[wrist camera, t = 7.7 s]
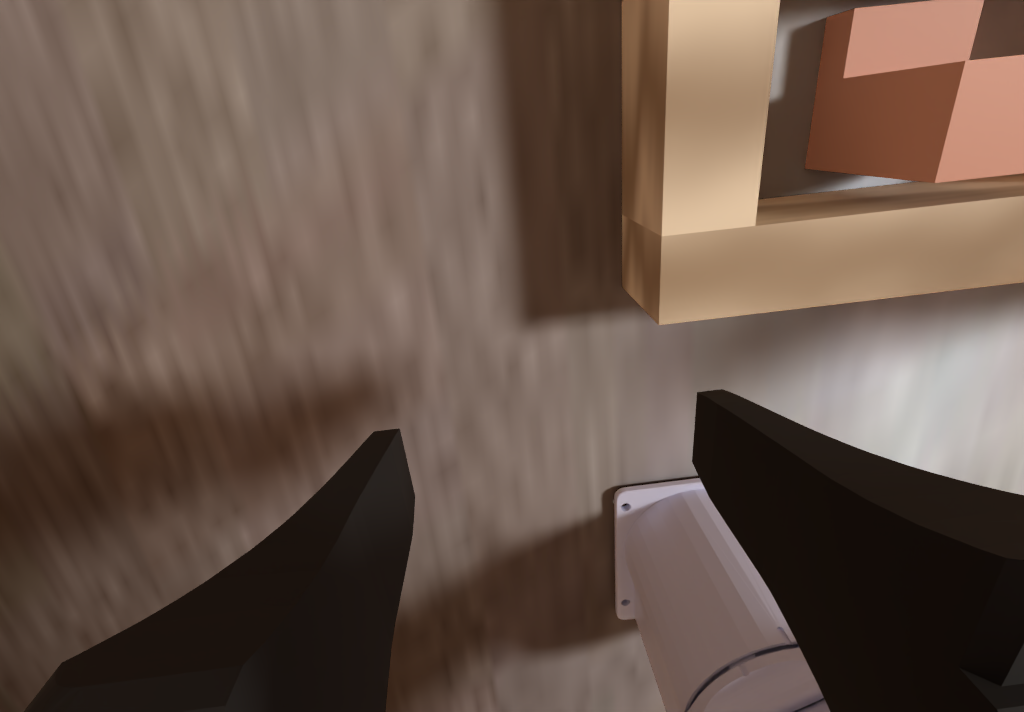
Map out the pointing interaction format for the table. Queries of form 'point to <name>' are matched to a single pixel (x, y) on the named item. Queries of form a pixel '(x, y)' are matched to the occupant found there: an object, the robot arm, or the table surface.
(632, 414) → the table surface
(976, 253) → the wooden tray frame
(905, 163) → the terracotta step block
